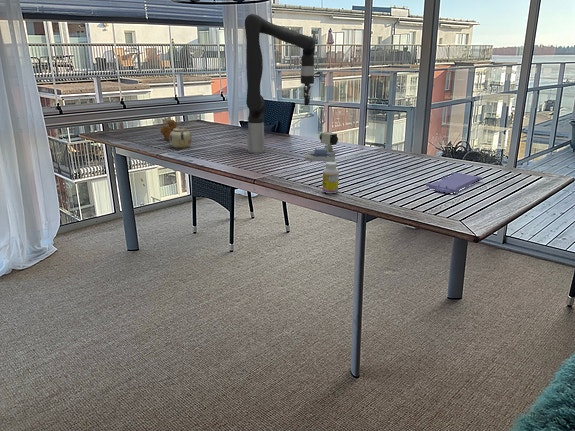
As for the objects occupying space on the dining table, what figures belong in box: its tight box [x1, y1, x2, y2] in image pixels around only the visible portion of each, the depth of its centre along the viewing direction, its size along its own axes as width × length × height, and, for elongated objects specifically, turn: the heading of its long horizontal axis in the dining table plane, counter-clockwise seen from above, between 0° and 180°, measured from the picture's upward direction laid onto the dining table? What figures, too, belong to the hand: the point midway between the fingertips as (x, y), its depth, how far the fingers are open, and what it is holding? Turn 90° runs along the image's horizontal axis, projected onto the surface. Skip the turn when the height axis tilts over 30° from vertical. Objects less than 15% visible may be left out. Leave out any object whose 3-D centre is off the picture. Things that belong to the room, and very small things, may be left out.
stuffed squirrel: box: [159, 119, 178, 142], centre depth 310 cm, size 10×14×13 cm
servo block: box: [311, 147, 331, 156], centre depth 261 cm, size 11×4×5 cm, turn 83°
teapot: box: [169, 125, 193, 150], centre depth 286 cm, size 20×14×13 cm
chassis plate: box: [304, 150, 336, 162], centre depth 262 cm, size 16×15×2 cm
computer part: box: [425, 171, 484, 194], centre depth 208 cm, size 30×4×15 cm
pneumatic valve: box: [319, 130, 339, 152], centre depth 277 cm, size 6×12×12 cm, turn 36°
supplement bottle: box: [321, 161, 340, 194], centre depth 197 cm, size 7×7×13 cm
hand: (307, 104), depth 263 cm, fingers open, 8 cm apart
